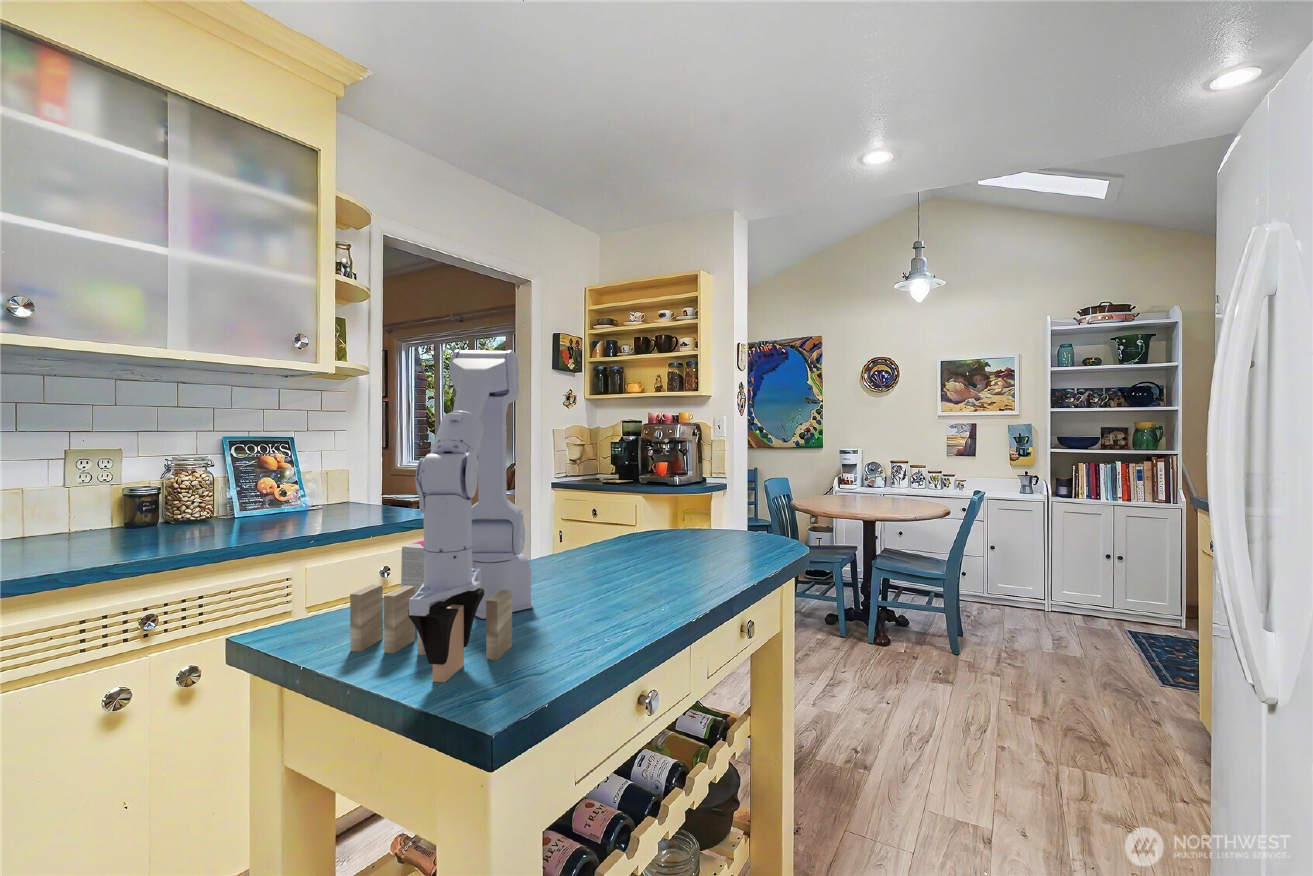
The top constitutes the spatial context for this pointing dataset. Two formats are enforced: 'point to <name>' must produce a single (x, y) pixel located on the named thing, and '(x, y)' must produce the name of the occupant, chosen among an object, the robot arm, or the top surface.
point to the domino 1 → (366, 617)
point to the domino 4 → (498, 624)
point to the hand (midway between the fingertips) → (448, 654)
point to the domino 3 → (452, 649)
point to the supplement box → (413, 565)
